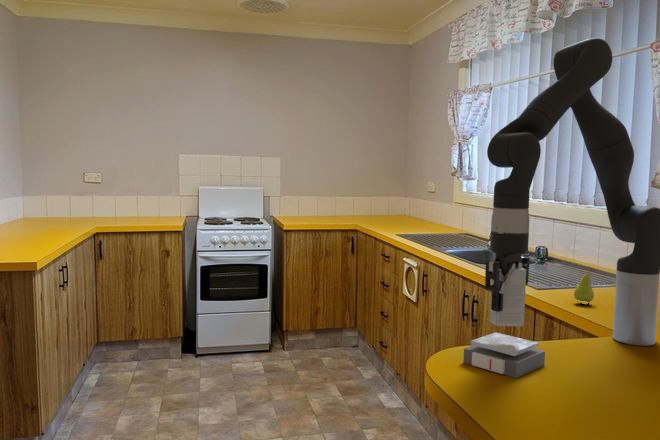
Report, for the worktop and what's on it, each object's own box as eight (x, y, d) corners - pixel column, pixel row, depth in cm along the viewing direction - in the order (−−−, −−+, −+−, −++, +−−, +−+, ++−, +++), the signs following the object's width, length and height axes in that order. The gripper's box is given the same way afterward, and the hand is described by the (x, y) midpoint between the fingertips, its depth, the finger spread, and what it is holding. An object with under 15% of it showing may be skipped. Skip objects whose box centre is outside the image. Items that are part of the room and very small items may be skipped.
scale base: (493, 351, 123) (493, 338, 123) (544, 365, 114) (545, 351, 114) (460, 363, 114) (461, 349, 114) (513, 379, 105) (514, 364, 105)
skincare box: (516, 321, 116) (519, 266, 115) (524, 326, 112) (527, 269, 111) (488, 321, 116) (491, 265, 115) (495, 326, 112) (498, 268, 111)
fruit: (569, 303, 175) (571, 266, 175) (584, 302, 177) (586, 265, 176) (582, 307, 170) (584, 269, 169) (597, 306, 172) (599, 268, 171)
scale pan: (495, 338, 121) (495, 332, 121) (538, 348, 114) (538, 342, 114) (470, 346, 114) (471, 340, 114) (514, 358, 107) (515, 352, 107)
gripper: (510, 227, 120) (507, 300, 121) (475, 230, 110) (471, 309, 112) (543, 229, 115) (539, 306, 116) (508, 233, 105) (505, 317, 106)
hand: (506, 308), depth 114 cm, fingers closed on skincare box, 7 cm apart
